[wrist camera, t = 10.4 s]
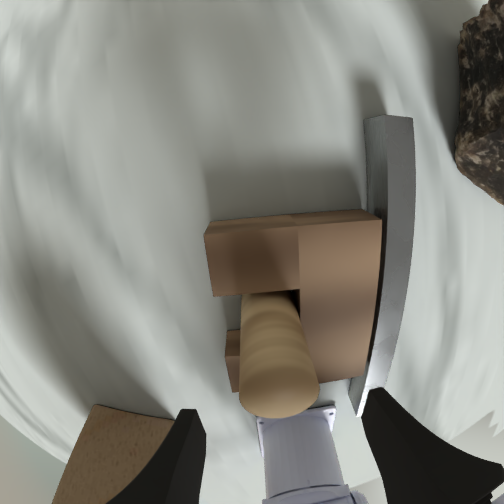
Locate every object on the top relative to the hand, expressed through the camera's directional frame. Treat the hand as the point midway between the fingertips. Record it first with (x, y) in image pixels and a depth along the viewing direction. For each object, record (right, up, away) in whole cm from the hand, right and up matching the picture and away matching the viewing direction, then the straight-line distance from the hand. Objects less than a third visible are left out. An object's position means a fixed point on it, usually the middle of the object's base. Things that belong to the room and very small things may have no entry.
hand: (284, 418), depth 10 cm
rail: (+8, +4, +10) cm, 13 cm away
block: (+2, +4, +9) cm, 10 cm away
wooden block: (-14, -15, +16) cm, 26 cm away
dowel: (0, +3, +10) cm, 10 cm away
